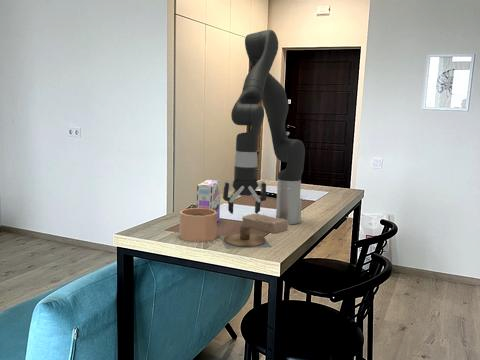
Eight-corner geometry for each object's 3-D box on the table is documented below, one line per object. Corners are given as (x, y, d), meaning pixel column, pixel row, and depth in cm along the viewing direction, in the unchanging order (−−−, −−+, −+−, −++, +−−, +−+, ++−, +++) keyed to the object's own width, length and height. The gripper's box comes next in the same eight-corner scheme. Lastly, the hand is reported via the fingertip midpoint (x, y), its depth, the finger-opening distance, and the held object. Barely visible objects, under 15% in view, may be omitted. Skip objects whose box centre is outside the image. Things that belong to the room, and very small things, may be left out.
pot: (213, 232, 169) (213, 207, 167) (218, 241, 156) (219, 215, 155) (178, 233, 166) (178, 208, 165) (181, 243, 154) (181, 216, 153)
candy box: (211, 228, 173) (211, 185, 171) (195, 227, 174) (196, 184, 172) (220, 220, 187) (220, 179, 184) (205, 219, 188) (206, 179, 185)
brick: (240, 226, 178) (241, 214, 178) (255, 223, 184) (255, 211, 184) (274, 236, 167) (275, 223, 167) (288, 231, 173) (289, 219, 173)
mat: (260, 235, 166) (261, 234, 166) (271, 248, 151) (271, 246, 151) (219, 236, 163) (219, 235, 163) (226, 249, 148) (226, 248, 148)
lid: (259, 234, 165) (260, 221, 164) (270, 246, 152) (270, 232, 151) (221, 236, 162) (221, 222, 162) (227, 247, 149) (228, 233, 148)
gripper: (264, 164, 158) (262, 210, 161) (222, 163, 155) (221, 210, 158) (269, 166, 151) (267, 215, 153) (226, 166, 148) (224, 215, 151)
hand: (244, 213), depth 156 cm, fingers open, 8 cm apart
